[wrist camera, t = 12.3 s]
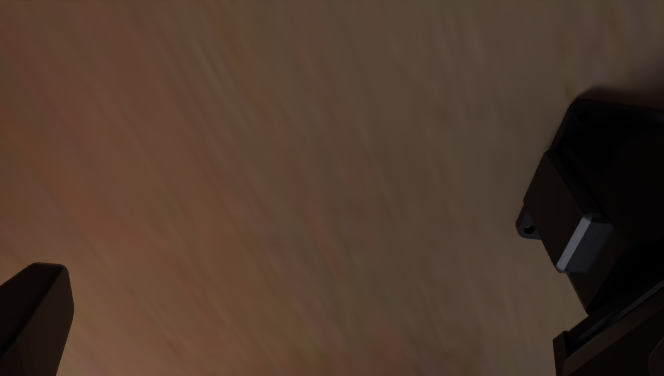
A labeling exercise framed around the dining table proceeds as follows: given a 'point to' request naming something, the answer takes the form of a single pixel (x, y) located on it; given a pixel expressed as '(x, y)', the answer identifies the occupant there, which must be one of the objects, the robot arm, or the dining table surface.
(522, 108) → the dining table surface
